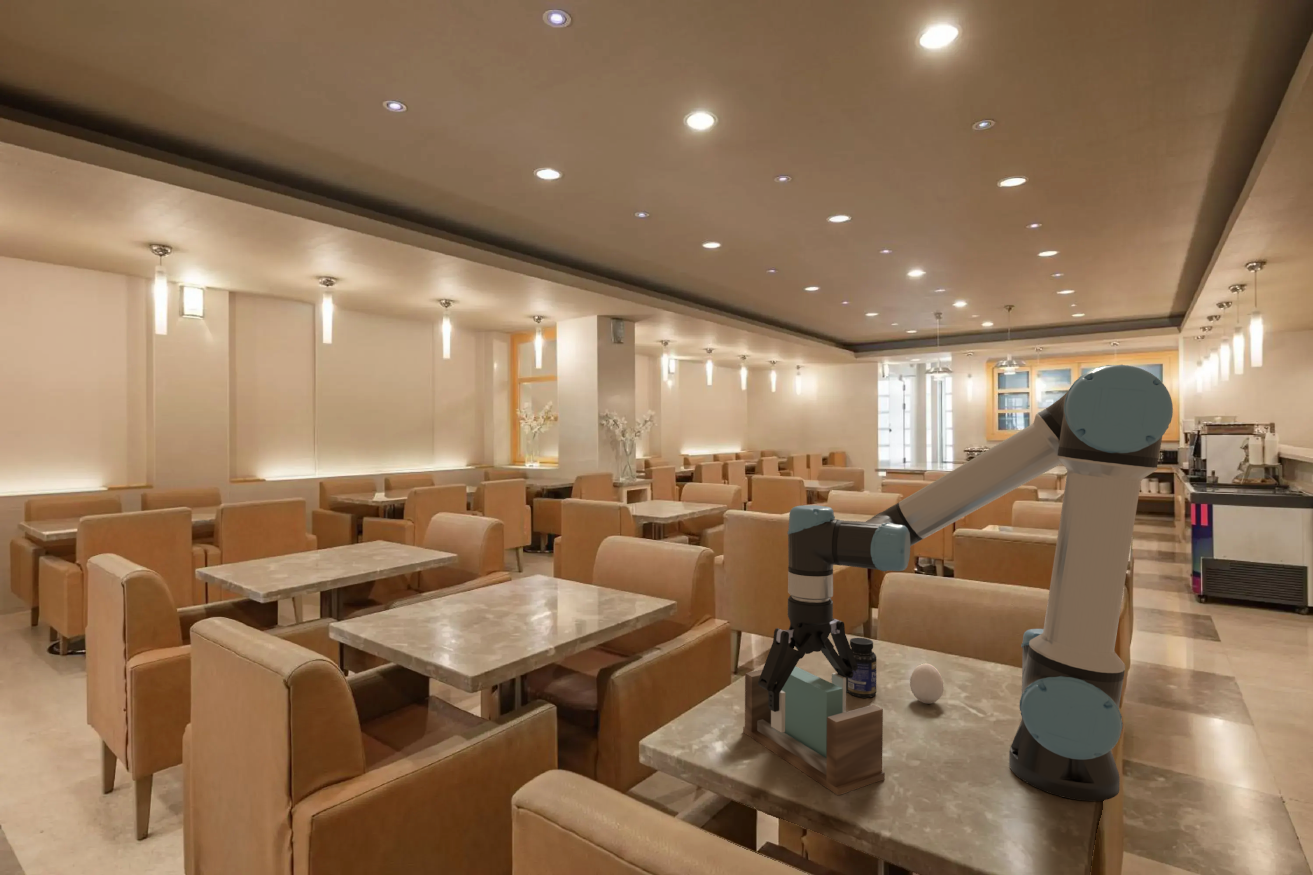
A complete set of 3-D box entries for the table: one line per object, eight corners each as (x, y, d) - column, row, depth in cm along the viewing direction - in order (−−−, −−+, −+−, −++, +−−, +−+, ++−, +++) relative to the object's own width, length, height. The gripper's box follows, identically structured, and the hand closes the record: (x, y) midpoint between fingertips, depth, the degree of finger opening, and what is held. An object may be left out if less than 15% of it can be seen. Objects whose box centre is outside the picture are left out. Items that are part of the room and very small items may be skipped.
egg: (922, 693, 140) (922, 656, 140) (950, 704, 135) (950, 665, 134) (903, 700, 136) (903, 661, 136) (930, 711, 131) (931, 671, 131)
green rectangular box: (842, 760, 109) (842, 688, 109) (826, 765, 108) (826, 692, 107) (793, 731, 120) (794, 665, 120) (778, 735, 118) (778, 668, 118)
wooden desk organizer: (884, 778, 106) (885, 710, 105) (838, 795, 101) (838, 723, 101) (785, 720, 127) (786, 663, 126) (743, 731, 122) (743, 672, 122)
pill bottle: (878, 699, 137) (878, 646, 137) (847, 697, 138) (847, 644, 138) (874, 688, 143) (874, 637, 143) (844, 685, 144) (845, 635, 144)
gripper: (847, 584, 123) (846, 698, 123) (737, 600, 111) (736, 727, 111) (879, 593, 116) (878, 713, 116) (766, 611, 104) (765, 746, 104)
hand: (809, 720), depth 114 cm, fingers open, 13 cm apart
